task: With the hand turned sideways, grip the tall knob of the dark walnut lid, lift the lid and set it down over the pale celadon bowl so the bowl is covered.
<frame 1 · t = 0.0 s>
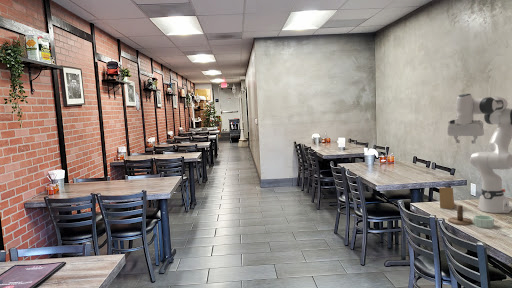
hand: (465, 143, 216), 48 cm above the table, tool pointing down, fingers open, 8 cm apart
sandwich container: (447, 206, 254), on the table
walnut lid: (460, 222, 217), on the table
celadon bowl: (483, 225, 208), on the table
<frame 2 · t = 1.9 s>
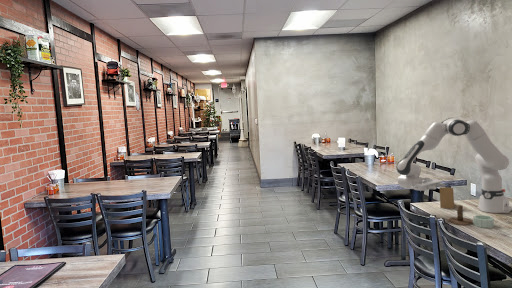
hand: (440, 186, 226), 20 cm above the table, tool horizontal, fingers open, 8 cm apart
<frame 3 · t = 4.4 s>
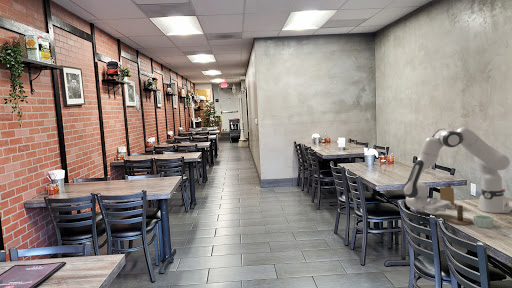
hand: (450, 208, 222), 7 cm above the table, tool horizontal, fingers open, 8 cm apart
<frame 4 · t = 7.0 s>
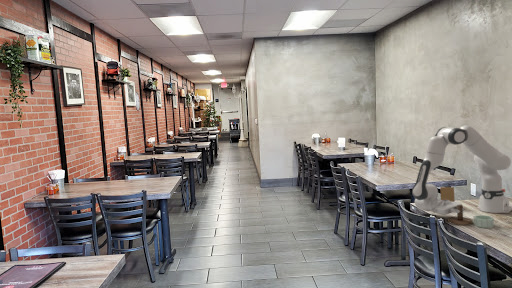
hand: (461, 210, 216), 7 cm above the table, tool horizontal, fingers closed on walnut lid, 3 cm apart
walnut lid: (460, 221, 217), on the table, touching gripper
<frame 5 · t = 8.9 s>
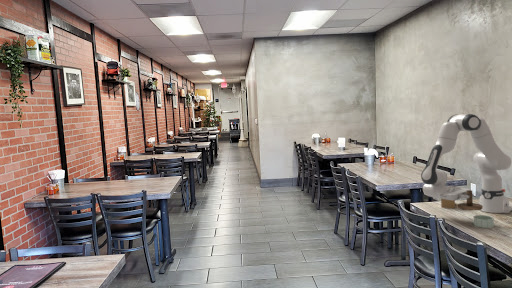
hand: (471, 196, 212), 17 cm above the table, tool horizontal, fingers closed on walnut lid, 3 cm apart
walnut lid: (469, 207, 213), point 10 cm above the table, touching gripper
when the fingers open (13 cm above the table, at t = 11.0 s): walnut lid drops 1 cm, resting on celadon bowl.
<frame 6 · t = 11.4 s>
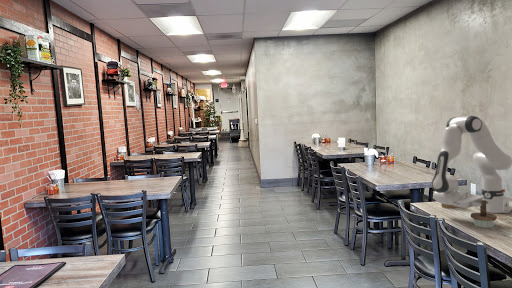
hand: (484, 203, 207), 13 cm above the table, tool horizontal, fingers open, 7 cm apart
walnut lid: (483, 217, 208), point 4 cm above the table, touching celadon bowl
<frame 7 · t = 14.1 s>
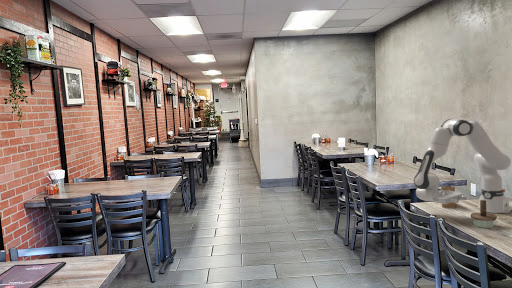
hand: (462, 200, 218), 13 cm above the table, tool horizontal, fingers open, 8 cm apart
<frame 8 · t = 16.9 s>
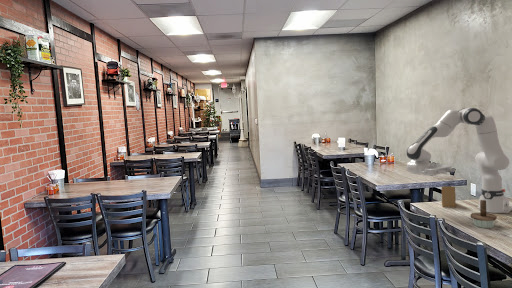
hand: (450, 171, 224), 30 cm above the table, tool horizontal, fingers open, 8 cm apart
at the end: walnut lid 0.0 cm off-centre on the celadon bowl, point 4.5 cm above the celadon bowl's base; walnut lid tilted 0°; the gripper is holding nothing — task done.
